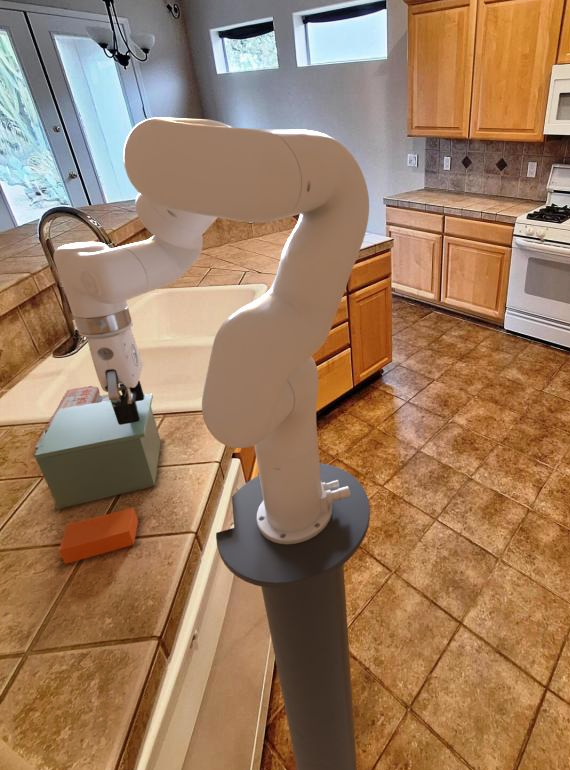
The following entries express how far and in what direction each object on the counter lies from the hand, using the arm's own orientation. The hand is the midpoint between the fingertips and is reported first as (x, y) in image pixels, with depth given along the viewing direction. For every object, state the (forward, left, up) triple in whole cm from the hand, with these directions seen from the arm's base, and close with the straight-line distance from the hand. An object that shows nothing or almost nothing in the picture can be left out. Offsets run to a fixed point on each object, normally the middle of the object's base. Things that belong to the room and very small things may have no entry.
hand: (132, 410), depth 78 cm
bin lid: (+5, 0, -2) cm, 6 cm away
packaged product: (+16, -20, -13) cm, 28 cm away
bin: (+6, 0, -13) cm, 14 cm away
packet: (+5, +17, -13) cm, 22 cm away
